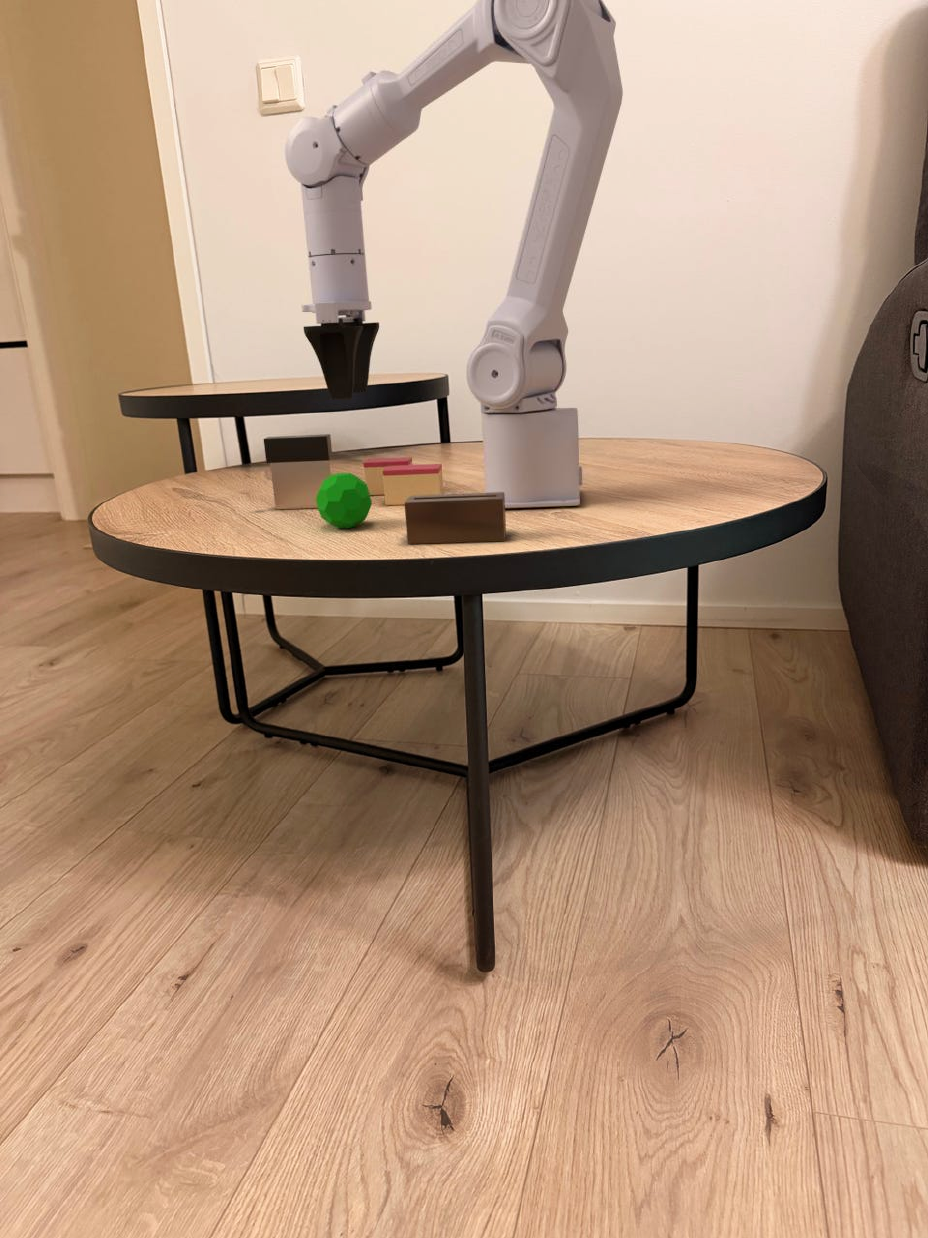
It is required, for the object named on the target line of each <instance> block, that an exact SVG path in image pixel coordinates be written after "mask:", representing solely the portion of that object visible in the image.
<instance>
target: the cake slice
mask: <svg viewBox="0 0 928 1238" xmlns="http://www.w3.org/2000/svg"><path fill="white" fill-rule="evenodd" d="M399 465H413V457H412V456H406V457H405V456H404V457H401V456H400V457H384V458H383V457H381V458H368V459H366V460H365V461H364V462H363V473H364V482H365V483H366V484H367V487H368V490H369V493H370V496H385V493H384V481H383V476H384V475H383V470H384V469H385V468H386V467H387V466H399Z"/></svg>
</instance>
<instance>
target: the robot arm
mask: <svg viewBox="0 0 928 1238" xmlns="http://www.w3.org/2000/svg"><path fill="white" fill-rule="evenodd" d="M616 26H617V22H616V20H615V18H614V16H613V15H612V13H611V12H610V11H609V9H608V7H607V6H606V4H605V2H604V1H603V0H476V2H475V3H474V4H473V5H472V6H471V7H470V9H468V10H467V11H466V12H465V13H464V14H463V15H462V16H460V17H459V18H458V19H457V20H456V21H455V22H454V23H453V24H452V25H451V26H449V27H448V28H447V29H446V31H444V32H443V33H442V34H441V35H440V36H438V38H437V39H435V41H433V42H432V43H431V44H430V45H429V46H428V47H427V48H426V49H425V50H423V51H422V53H421V54H419V55H418V56H417V57H416V58H414V60H413V61H412V62H410V64H408V65H407V66H406V67H405V68H404V69H403V70H402V71H401V72H400V73H395V72H393V71H390V70H386V69H385V70H383V69H382V70H379V72H375V71H368V73H366V74H365V75H364V76H362V78H361V82H362V85H361V86H360V87H359V88H357V90H355V91H354V92H353V93H351V94H350V95H348V97H347V98H345V99H344V100H343V101H341V102H340V103H339V104H338V105H336V104H333V105H331V106H330V107H329V108H328V109H327V110H326V114H324V116H322V117H319V118H318V117H315V116H303V117H302V118H299V120H298V121H297V122H296V124H295V125H294V126H293V127H292V128H291V130H290V131H289V134H288V136H287V139H286V142H285V150H284V154H285V162H286V166H287V168H288V171H289V172H290V174H291V176H292V177H293V178H294V179H295V180H296V181H297V182H298V183H299V184H300V190H301V191H300V192H301V201H302V210H303V221H304V229H305V240H306V241H305V242H306V249H307V251H306V252H307V257H308V267H309V277H310V278H309V280H310V288H311V299H312V304H301V312H302V313H313V314H315V320H316V324H317V325H308V326H307V325H306V326H305V325H304V326H303V333H304V336H305V338H306V339H307V341H308V342H309V344H310V345H311V348H312V349H313V351H314V353H315V355H316V358H317V360H318V363H319V365H320V368H321V372H322V375H323V378H324V382H325V385H326V388H327V391H328V394H329V396H330V399H331V400H343V399H344V400H345V399H353V395H354V393H355V394H356V393H366V392H367V391H368V385H369V378H370V377H369V376H370V366H371V360H372V359H371V357H372V352H373V348H374V343H375V341H376V338H377V336H378V333H379V330H380V322H378V321H377V322H376V321H375V322H366V321H367V319H366V311H370V310H372V301H371V300H370V295H369V283H368V282H369V281H368V272H367V258H366V250H365V247H366V246H365V236H364V225H363V224H364V223H363V211H362V202H363V201H364V194H363V187H364V183H365V181H366V179H367V177H368V174H369V172H370V166H371V165H372V164H374V163H375V162H377V161H378V160H379V159H380V158H382V157H383V156H384V155H386V154H387V153H389V152H390V151H391V150H392V149H394V148H395V147H396V146H397V145H399V144H400V143H402V142H403V141H404V140H406V139H407V138H408V137H410V136H412V134H415V132H417V131H418V129H419V127H420V122H421V116H422V115H421V114H422V110H423V109H424V108H426V107H427V106H429V105H430V104H431V103H433V102H435V101H437V100H438V99H439V98H441V97H442V96H444V95H446V93H448V92H449V91H451V90H453V89H454V88H455V87H457V86H458V85H460V84H462V83H463V82H464V81H466V80H467V79H469V78H471V77H472V76H474V75H476V73H478V72H479V71H481V70H483V69H484V68H485V67H487V66H489V65H490V64H492V63H496V62H498V63H513V64H525V65H526V64H527V65H531V67H533V68H534V70H535V73H536V74H537V76H538V77H539V79H540V81H541V83H542V84H543V86H544V88H545V90H546V92H547V94H548V95H549V97H550V99H551V101H552V104H553V110H552V113H551V118H550V122H549V125H548V130H547V134H546V137H545V141H544V145H543V150H542V152H541V157H540V161H539V166H538V169H537V173H536V177H535V181H534V185H533V188H532V192H531V196H530V200H529V204H528V208H527V211H526V216H525V220H524V224H523V228H522V232H521V236H520V238H519V239H520V240H519V243H518V247H517V252H516V255H515V259H514V262H513V267H512V271H511V275H510V279H509V283H508V287H507V291H506V295H505V297H504V299H503V300H502V301H501V303H500V304H499V305H498V306H497V308H496V309H495V310H494V312H493V313H492V314H491V316H490V317H489V318H488V320H487V322H486V326H485V329H484V332H483V336H482V338H481V339H480V341H479V343H478V344H477V345H476V346H474V348H473V350H472V351H471V353H470V355H469V357H468V359H467V363H466V368H465V369H466V370H465V373H466V383H467V385H468V389H469V391H470V393H471V394H472V395H473V397H474V399H476V400H477V401H478V402H479V403H480V413H481V430H482V449H483V470H484V489H485V490H484V491H483V493H492V492H504V494H505V509H519V508H521V509H522V508H546V507H549V508H550V507H573V506H576V507H577V506H579V505H580V504H581V503H580V502H581V499H580V498H581V497H580V495H581V494H580V493H581V492H580V486H583V466H581V465H580V441H579V439H580V438H579V437H580V435H579V411H578V408H577V407H558V400H557V399H558V398H557V396H556V394H557V392H558V391H559V390H560V388H561V387H562V385H563V383H564V381H565V379H566V375H567V359H566V349H565V348H566V342H567V339H568V335H569V327H568V324H567V321H566V319H565V315H564V308H565V303H566V300H567V296H568V293H569V289H570V286H571V282H572V279H573V276H574V271H575V268H576V265H577V261H578V259H579V255H580V251H581V247H582V245H583V240H584V237H585V233H586V230H587V227H588V223H589V219H590V215H591V212H592V210H593V209H592V208H593V205H594V202H595V199H596V195H597V191H598V187H599V184H600V180H601V177H602V174H603V171H604V166H605V163H606V159H607V156H608V152H609V150H610V149H609V148H610V146H611V143H612V142H611V141H612V138H613V135H614V131H615V127H616V124H617V120H618V117H619V114H620V110H621V106H622V102H623V94H624V91H623V90H624V89H623V83H622V79H621V78H622V77H621V72H620V67H619V65H620V64H619V60H618V54H617V48H616V43H615V31H616ZM318 324H319V325H318Z"/></svg>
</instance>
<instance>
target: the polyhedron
mask: <svg viewBox="0 0 928 1238" xmlns="http://www.w3.org/2000/svg"><path fill="white" fill-rule="evenodd" d="M316 502H317V506H318V508H317V510H318V513H319V516H320V518H321V520H323V521H325V523H327V524H329V525H331V526H332V527H334V528H336V529H351V528H356V527H357V526H358V525H360V524H361V523H362V522H364V521H365V520H366V519H367V517H368V515H369V512H370V510H371V507H372V505H373V502H372V497H371V495H370V493H369V490H368V487H367V484H366V483H365V480H362V479H361V478H360V477H359V476H357V475H355V474H353V473H351V472H337V473H334V474H331V476H329V477H328V478H327V479H325V480H324V481H323V482H322V484H321V487H320V489H319V492H318V494H317V497H316Z"/></svg>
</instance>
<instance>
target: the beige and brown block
mask: <svg viewBox="0 0 928 1238" xmlns="http://www.w3.org/2000/svg"><path fill="white" fill-rule="evenodd" d="M263 446H264V456H265V462H266V464H269V466H270V473H271V474H270V475H271V483H272V491H273V500H274V507H275V510H297V509H299V510H300V509H301V510H302V509H318V506H317V502H316V497H317V494H318V492H319V489H320V487H321V484H322V482H323V481H324V480H325V479H327V478H328V477H329V476H331V475H332V472H331V460H332V459H333V447H332V437H331V433H326V434H323V433H322V434H305V435H301V434H300V435H283V436H282V435H281V436H267V437H265V438H263Z"/></svg>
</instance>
